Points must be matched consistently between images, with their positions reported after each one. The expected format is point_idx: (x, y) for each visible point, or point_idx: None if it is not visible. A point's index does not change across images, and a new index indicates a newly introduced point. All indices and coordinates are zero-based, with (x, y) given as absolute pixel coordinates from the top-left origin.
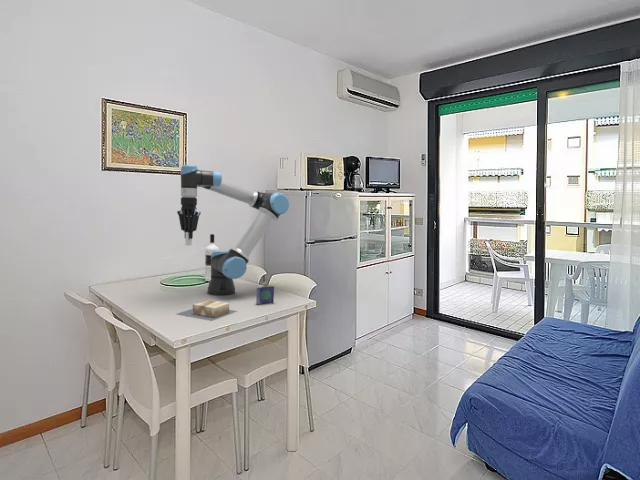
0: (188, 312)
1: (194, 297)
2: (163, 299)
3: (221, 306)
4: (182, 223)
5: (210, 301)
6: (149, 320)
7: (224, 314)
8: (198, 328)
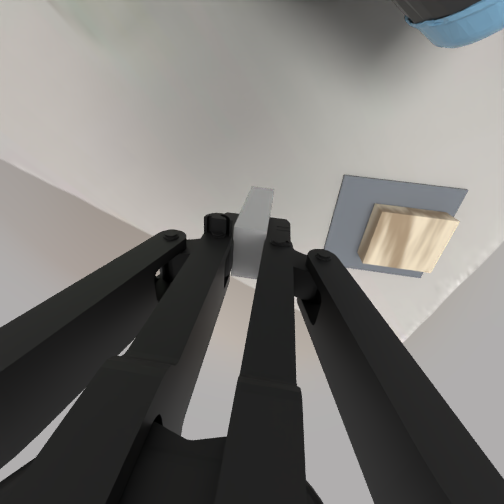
0: (341, 245)
1: (258, 81)
2: (196, 154)
3: (442, 250)
4: (142, 321)
5: (396, 224)
6: (294, 300)
7: None
8: (405, 310)
